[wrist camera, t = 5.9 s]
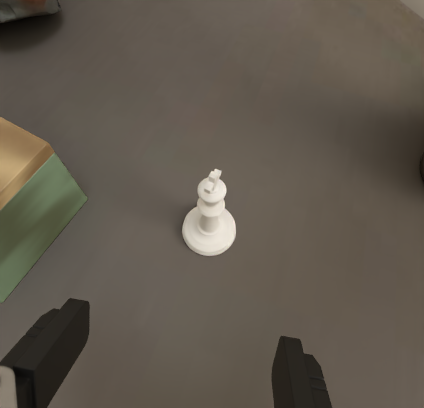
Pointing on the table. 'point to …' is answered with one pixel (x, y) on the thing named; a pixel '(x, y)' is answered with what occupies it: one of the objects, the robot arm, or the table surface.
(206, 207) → the chess piece
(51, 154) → the shelf
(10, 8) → the lucky cat figurine
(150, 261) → the table surface
